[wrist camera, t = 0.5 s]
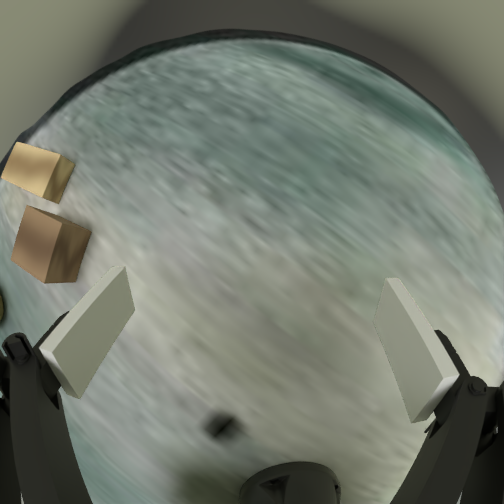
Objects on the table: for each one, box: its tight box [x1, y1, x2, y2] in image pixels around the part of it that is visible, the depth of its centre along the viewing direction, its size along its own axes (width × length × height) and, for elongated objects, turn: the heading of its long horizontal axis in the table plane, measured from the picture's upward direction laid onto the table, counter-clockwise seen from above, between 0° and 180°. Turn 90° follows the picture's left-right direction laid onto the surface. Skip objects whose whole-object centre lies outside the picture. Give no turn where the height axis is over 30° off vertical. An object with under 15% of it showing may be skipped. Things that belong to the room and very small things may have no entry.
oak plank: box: [1, 142, 75, 204], centre depth 29 cm, size 6×12×4 cm, turn 69°
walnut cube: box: [11, 205, 91, 283], centre depth 28 cm, size 7×7×7 cm
